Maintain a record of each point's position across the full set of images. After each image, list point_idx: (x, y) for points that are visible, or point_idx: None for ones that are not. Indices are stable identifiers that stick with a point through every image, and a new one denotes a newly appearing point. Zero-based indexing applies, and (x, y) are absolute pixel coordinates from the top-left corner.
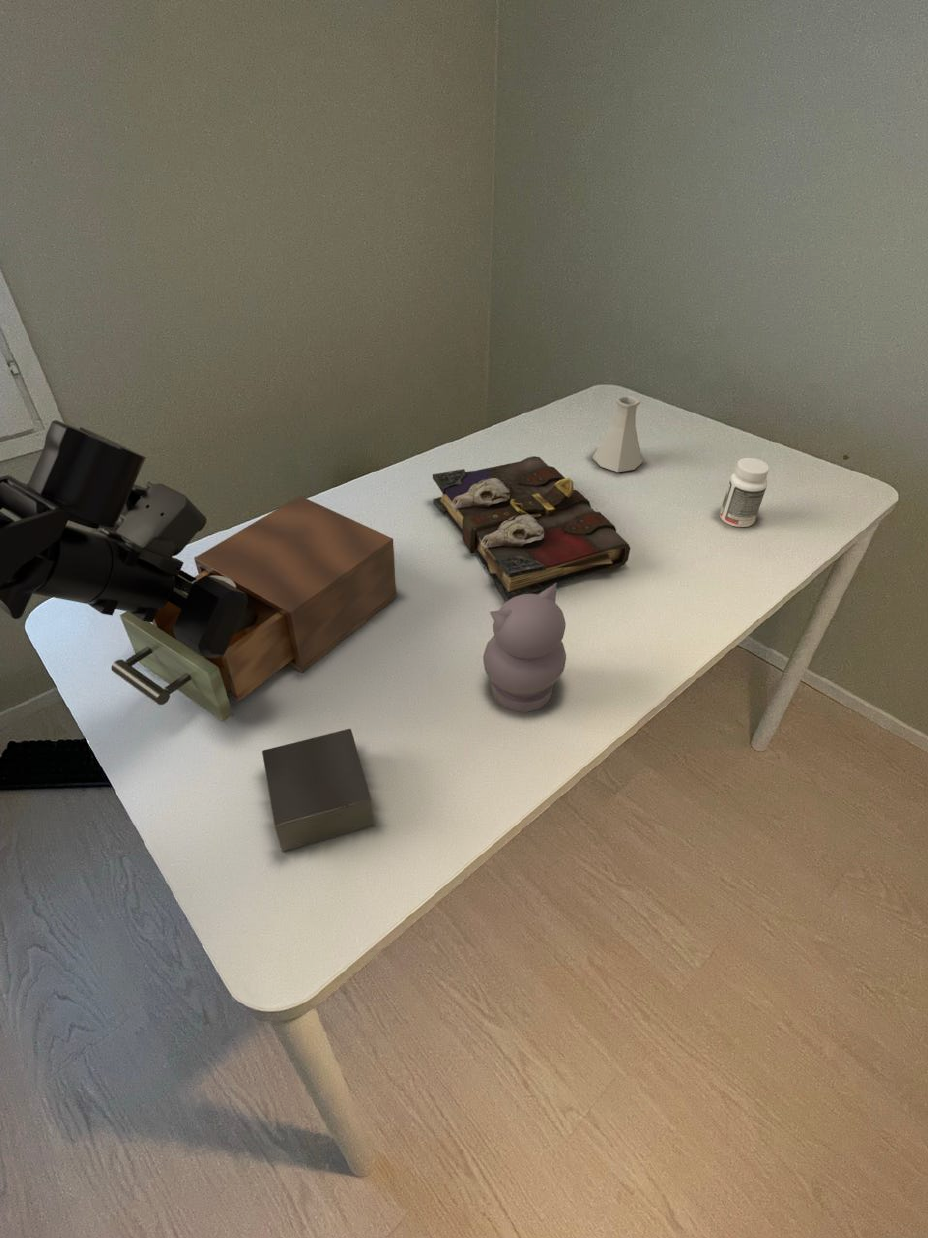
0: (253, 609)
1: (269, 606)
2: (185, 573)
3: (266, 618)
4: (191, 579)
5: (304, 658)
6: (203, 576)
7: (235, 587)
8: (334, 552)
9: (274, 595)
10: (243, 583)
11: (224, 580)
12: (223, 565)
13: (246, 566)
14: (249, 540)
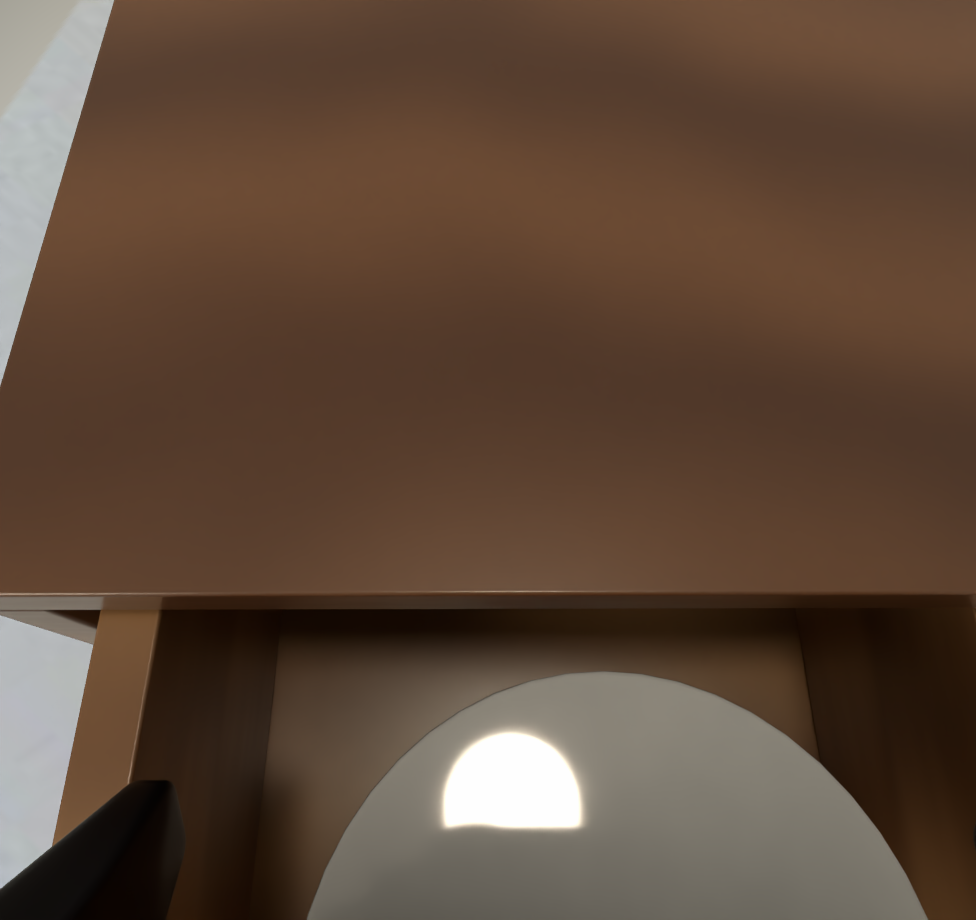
0: None
1: None
2: (79, 917)
3: None
4: (146, 850)
5: None
6: (144, 667)
7: (786, 739)
8: (781, 11)
9: (920, 519)
10: (592, 568)
11: (587, 729)
12: (257, 508)
13: (430, 407)
14: (209, 202)
